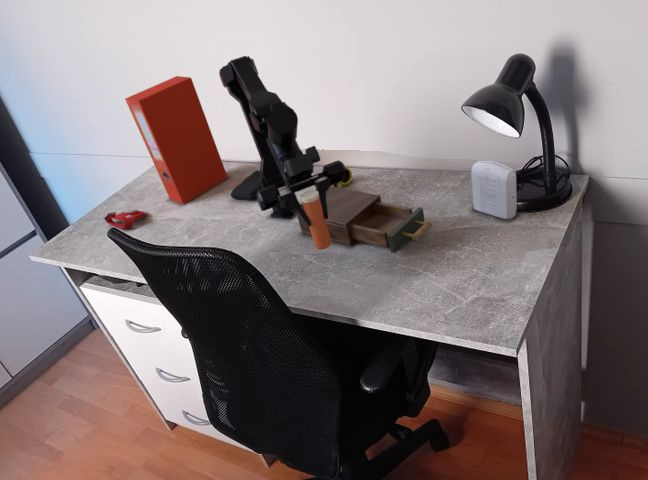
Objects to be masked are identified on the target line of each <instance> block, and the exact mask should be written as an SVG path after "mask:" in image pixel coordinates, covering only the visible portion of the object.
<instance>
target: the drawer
mask: <svg viewBox="0 0 648 480" xmlns="http://www.w3.org/2000/svg"><path fill="white" fill-rule="evenodd" d="M381 202H382V201H381ZM381 202H375V203H374V204H373V205H372V206H371V207H369V208H368V209H367V210H366V211H365V212H364V213H362V214H361V215H360V216H359V217H358V218H356V219H355V220H354V221H353V222H352V223H351V224H349V225H348V227H349V231H350V235H351V239H354V240H358V241H359V242H363V243H365V244H370V245H375V246H378V247H382V248H386V249H388V248H389V250H390V253H393V254H396V253H397V252H398V251H399V250H400V249H401V248H402V247H403V246H404V245H405V244H407V242H408V241H409V240H411V239H412V240H413V241H415V242H417V241H418V240H419V239H420V238H421V237H422V236H423V235H424V234H425V233H426V232H427V231H428V230H429V229H430V228H431V227H432V225H433V223H432V222H431V221H429V220H427V221H426V220H425V214H424V208H423V207H419V206H418V207H417V208H416V209H414V211H413V208H412V207H406V206H400V205H395V204H391V203H386V202H382V203H381ZM358 241H357V242H358Z"/></svg>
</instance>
